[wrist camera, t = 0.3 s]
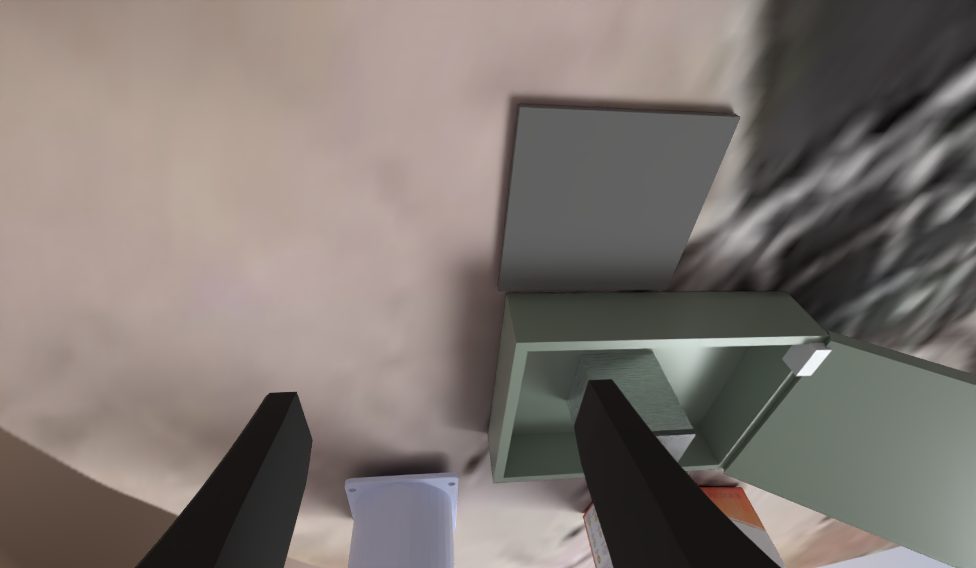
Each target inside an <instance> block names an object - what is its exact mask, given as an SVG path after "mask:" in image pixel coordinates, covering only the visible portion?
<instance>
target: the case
mask: <svg viewBox="0 0 976 568" xmlns="http://www.w3.org/2000/svg"><path fill="white" fill-rule="evenodd" d="M632 352H654V354H655V356H656V358H657V360H658V362H659V364H660V366H661V368H662V370H663V372H664V374H665V375H666V377H667V379H668V381H669V383H670V385H671V387H672V389H673V391H674V393H675V395H676V397H677V398H678V400H679V402H680V404H681V406H682V408H683V410H684V412H685V414H686V416H687V418H688V420H689V421H690V423H691V425H692V427H693V429H694V431H695V433H696V435H695V437H694V438H693V440H692V441H691V443H690V444H689V446H688V447H687V449H686V450H685V452H684V453H683V455H682V456H681V458H680V460H679V461H678V463H679V465H680V466H681V467H682V468H683V469H684V470H685V471H695V470H711V469H724V474H726V475H728V476H730V477H733V478H735V479H738V480H740V481H743V482H745V483H748V484H750V485H753V486H755V487H758V488H760V489H763V490H765V491H767V492H770V493H772V494H775V495H777V496H780V497H782V498H785V499H787V500H790V501H792V502H795V503H797V504H800V505H802V506H804V507H807V508H809V509H812V510H814V511H817V512H819V513H822V514H824V515H827V516H829V517H832V518H834V519H836V520H839V521H841V522H844V523H846V524H849V525H851V526H854V527H856V528H859V529H861V530H864V531H866V532H869V533H871V534H873V535H876V536H878V537H881V538H883V539H886V540H888V541H891V542H893V543H896V544H898V545H901V546H903V547H906V548H908V549H911V550H913V551H916V552H918V553H920V554H923V555H925V556H928V557H930V558H933V559H935V560H938V561H940V562H943V563H945V564H947V565H950V566H952V567H955V568H976V375H973V374H970V373H967V372H963V371H960V370H957V369H953V368H950V367H947V366H944V365H940V364H937V363H934V362H930V361H927V360H924V359H920V358H917V357H914V356H910V355H907V354H904V353H900V352H897V351H894V350H891V349H887V348H884V347H881V346H877V345H874V344H871V343H867V342H864V341H861V340H857V339H854V338H851V337H847V336H844V335H841V334H838V333H834V332H831V331H828V332H827V333H826V332H825V331H824V330H823V329H822V327H821V326H820V325H819V324H818V323H817V322H816V321H815V320H814V319H813V318H812V317H811V316H810V315H809V314H808V313H807V312H806V311H805V310H804V309H803V308H802V307H801V306H800V305H799V304H798V303H797V302H796V301H795V300H794V299H793V298H792V297H791V296H790V295H789V294H788V292H787V291H732V292H615V293H506V299H505V307H504V315H503V322H502V330H501V337H500V345H499V353H498V360H497V368H496V375H495V383H494V391H493V398H492V406H491V413H490V421H489V429H488V442H489V450H490V459H491V468H492V477H493V483H505V482H521V481H537V480H553V479H569V478H584V477H585V475H584V472H583V469H582V465H581V461H580V456H579V451H578V446H577V441H576V435H575V430H574V427H573V423H572V420H571V416H570V413H569V409H568V406H567V402H566V400H567V396H568V393H569V390H570V386H571V383H572V380H573V377H574V373H575V370H576V367H577V363H578V360H579V357H580V354H594V353H632Z"/></svg>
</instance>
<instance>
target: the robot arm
mask: <svg viewBox="0 0 976 568" xmlns="http://www.w3.org/2000/svg"><path fill="white" fill-rule="evenodd" d="M574 430H575V435H576V441H577V446H578V451H579V456H580V461H581V465H582V469H583V472H584V475H585V479H586V482H587V485H588V488H589V491H590V495H591V498H592V501H593V504H594V507H595V510H596V513H597V517H598V520H599V523H600V526H601V529H602V532H603V535H604V538H605V542H606V545H607V548H608V551H609V554H610V558H611V561H612V565H613V568H781V567H780V566H779V565H778V564H777V563H775V562H774V561H773V560H772V559H771V558H770V557H769V556H768V555H767V554H765V553H764V552H763V551H762V550H761V549H760V548H759V547H758V546H757V545H756V544H755V543H754V542H753V541H752V540H751V539H750V538H749V537H747V536H746V535H745V534H744V533H743V532H742V531H741V530H740V529H739V528H738V527H737V526H736V525H735V524H734V523H733V522H732V521H731V520H730V519H729V518H728V517H727V516H726V515H725V514H724V513H723V512H722V511H721V510H720V509H719V508H718V507H717V506H716V504H715V503H714V502H713V501H712V500H711V499H710V498H709V497H708V496H707V495H706V494H705V493H704V492H703V490H702V489H701V488H700V487H699V486H698V485H697V484H696V483H695V482H694V481H693V479H692V478H691V477H690V476H689V475H688V474H687V473H686V472H685V470H684V469H683V468H682V467H681V466H680V465H679V463H678V462H677V461H676V460H675V459H674V457H673V456H672V455H671V454H670V453H669V451H668V450H667V449H666V448H665V447H664V445H663V444H662V443H661V442H660V441H659V439H658V438H657V437H656V436H655V434H654V433H653V432H652V431H651V429H650V428H649V427H648V426H647V424H646V423H645V422H644V420H643V419H642V418H641V417H640V415H639V414H638V413H637V411H636V410H635V409H634V407H633V406H632V405H631V404H630V402H629V401H628V400H627V398H626V397H625V396H624V394H623V393H622V392H621V390H620V389H619V388H618V386H617V385H616V384H615V382H614V381H613V380H612V379H602V380H589V381H588V384H587V387H586V390H585V393H584V396H583V399H582V403H581V406H580V409H579V412H578V415H577V418H576V421H575V424H574ZM311 447H312V437H311V434H310V431H309V428H308V425H307V422H306V419H305V416H304V413H303V410H302V407H301V403H300V400H299V397H298V394H297V392H280V393H269V394H268V395H267V396H266V397H265V399H264V400H263V402H262V403H261V405H260V406H259V408H258V409H257V411H256V412H255V414H254V415H253V417H252V418H251V420H250V421H249V423H248V424H247V426H246V427H245V428H244V430H243V431H242V433H241V434H240V436H239V437H238V439H237V440H236V441H235V443H234V444H233V446H232V447H231V448H230V450H229V451H228V453H227V454H226V455H225V457H224V458H223V459H222V461H221V462H220V463H219V465H218V466H217V467H216V469H215V470H214V472H213V473H212V474H211V476H210V477H209V478H208V480H207V481H206V482H205V484H204V485H203V486H202V488H201V489H200V490H199V491H198V493H197V494H196V495H195V496H194V498H193V499H192V500H191V501H190V503H189V504H188V505H187V506H186V508H185V509H184V510H183V511H182V513H181V514H180V515H179V516H178V518H177V519H176V520H175V521H174V523H173V524H172V525H171V526H170V527H169V529H168V530H167V531H166V532H165V534H164V535H163V536H162V537H161V538H160V539H159V541H158V542H157V543H156V544H155V545H154V547H153V548H152V549H151V550H150V551H149V552H148V553H147V554H146V556H145V557H144V558H143V559H142V560H141V561H140V562H139V563H138V565H137V566H136V567H135V568H284V565H285V561H286V557H287V553H288V550H289V546H290V542H291V538H292V535H293V531H294V527H295V524H296V520H297V516H298V512H299V508H300V505H301V501H302V497H303V493H304V489H305V485H306V481H307V474H308V468H309V462H310V454H311ZM458 481H459V478H458V474H457V473H455V472H446V473H429V474H412V475H396V476H379V477H362V478H349V479H347V480H346V481H345V486H344V487H345V491H346V494H347V498H348V502H349V506H350V510H351V513H352V517H353V521H354V523H353V531H352V539H351V547H350V554H349V562H348V568H454V544H453V532H454V531H455V526H456V511H457V496H458Z"/></svg>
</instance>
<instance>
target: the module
mask: <svg viewBox="0 0 976 568" xmlns="http://www.w3.org/2000/svg"><path fill="white" fill-rule="evenodd" d="M602 379H612V380H613V381H614V382H615V384H616V385H617V386H618V388H619V389H620V390H621V392H622V393H623V394H624V396H625V397H626V398H627V400H628V401H629V402H630V404H631V405H632V406H633V407H634V409H635V410H636V411H637V413H638V414H639V415H640V417H641V418H642V419H643V420H644V422H645V423H646V424H647V426H648V427H649V428H650V429H651V431H652V432H653V433H654V434H655V436H656V437H657V438H658V439H659V441H660V442H661V443H662V444H663V445H664V447H665V448H666V449H667V450H668V451H669V453H670V454H671V455H672V456H673V457H674V459H675V460H676V461H677V462H678V461H679V460H680V458H681V456H682V455H683V453H684V452H685V450H686V449H687V447H688V446H689V444H690V443H691V441H692V440H693V438H694V437H695V435H696V433H695V431H694V429H693V427H692V425H691V423H690V421H689V420H688V418H687V416H686V414H685V412H684V410H683V408H682V406H681V404H680V402H679V400H678V398H677V397H676V395H675V393H674V391H673V389H672V387H671V385H670V383H669V381H668V379H667V377H666V375H665V374H664V372H663V370H662V368H661V366H660V364H659V362H658V360H657V358H656V356H655V354H654V352H632V353H594V354H580V357H579V360H578V363H577V367H576V370H575V373H574V377H573V380H572V383H571V386H570V390H569V393H568V396H567V400H566V402H567V406H568V409H569V413H570V416H571V420H572V423H573V427H574V424H575V421H576V418H577V415H578V412H579V409H580V406H581V403H582V399H583V396H584V393H585V390H586V387H587V384H588V381H589V380H602Z"/></svg>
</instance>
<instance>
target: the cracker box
mask: <svg viewBox="0 0 976 568" xmlns="http://www.w3.org/2000/svg"><path fill="white" fill-rule="evenodd" d="M700 488H701V489H702V490H703V492H704V493H705V494H706V495H707V496H708V497H709V498H710V499H711V500H712V501H713V502H714V503H715V504H716V506H717V507H718V508H719V509H720V510H721V511H722V512H723V513H724V514H725V515H726V516H727V517H728V518H729V519H730V520H731V521H732V522H733V523H734V524H735V525H736V526H737V527H738V528H739V529H740V530H741V531H742V532H743V533H744V534H745V535H746V536H747V537H749V538H750V539H751V540H752V541H753V542H754V543H755V544H756V545H757V546H758V547H759V548H760V549H761V550H762V551H763V552H764V553H765V554H767V555H768V556H769V557H770V558H771V559H772V560H773V561H774V562H775V563H777V564H778V565H779V566H780V567H781V568H786V566H785V564H784V562H783V560H782V559H781V557H780V555H779V553H778V551H777V549H776V548H775V546H774V544H773V542H772V541H771V539H770V537H769V535H768V533H767V532H766V530H765V528H764V526H763V525H762V523H761V521H760V519H759V517H758V515H757V514H756V512H755V510H754V508H753V507H752V505H751V503H750V501H749V499H748V498H747V496H746V494H745V492H744V490H743V489H742V488H741V487H700ZM583 519H584V523H585V527H586V531H587V536H588V539H589V543H590V547H591V551H592V555H593V559H594V563H595V567H596V568H613V565H612V561H611V558H610V554H609V551H608V548H607V545H606V542H605V538H604V535H603V532H602V529H601V526H600V523H599V520H598V517H597V513H596V510H595V507H594V504H593V503H592V504H591V505H590V507H589V508H588V510H587V511H586V512H585V514H584V516H583Z"/></svg>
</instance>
